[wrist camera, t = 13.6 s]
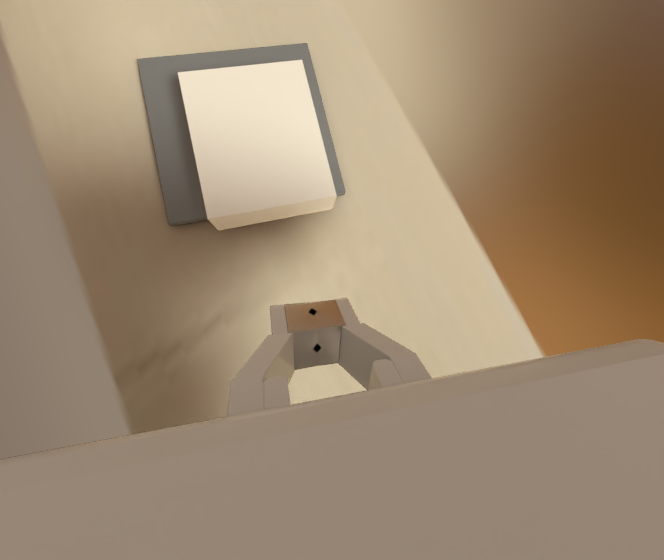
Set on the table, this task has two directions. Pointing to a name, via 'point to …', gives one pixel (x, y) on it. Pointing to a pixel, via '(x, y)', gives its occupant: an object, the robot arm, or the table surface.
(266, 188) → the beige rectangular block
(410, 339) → the table surface
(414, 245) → the table surface
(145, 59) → the charcoal mat
